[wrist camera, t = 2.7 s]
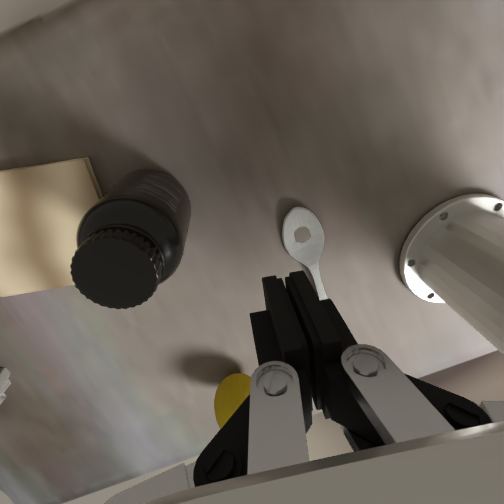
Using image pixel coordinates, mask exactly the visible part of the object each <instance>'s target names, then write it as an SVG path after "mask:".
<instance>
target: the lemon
mask: <svg viewBox="0 0 504 504" xmlns="http://www.w3.org/2000/svg"><path fill="white" fill-rule="evenodd" d="M250 384H251V377H250V376H248V375H246V374H242V373H236V374H232V375H229V376H228V377H226V378H225V379H224V380H223V381H222V382H221V383H220V385H219V386H218V388H217V391H216V395H215V400H214V409H215V415H216V420H217V423H218V425H219V427H220V428H222V427H223V426H224V425H225V423H226V422H227V421H228V420H229V418H230V417H231V416H232V415H233V414H234V412H235V411H236V410H237V409H238V407H239V406H240V405H241V404H242V403H243V401H244V400H245V399H246V398H247V397H248V395H249V394H250Z"/></svg>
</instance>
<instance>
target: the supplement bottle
mask: <svg viewBox="0 0 504 504" xmlns="http://www.w3.org/2000/svg"><path fill="white" fill-rule="evenodd" d="M190 215H191V205H190V200H189V197H188V195H187V193H186V191H185V189H184V188H183V187H182V186H181V184H180V183H179V182H178V181H177V180H175V179H174V178H173V177H171V176H169V175H168V174H165V173H163V172H160V171H156V170H139V171H135V172H132V173H130V174H128V175H127V176H125V177H124V178H122V179H121V180H120V181H119V182H118V183H117V184H115V185H114V186H113V187H112V188H111V189H110V190H109V191H108V192H107V193H106V194H105V195H104V196H103V197H101V198H100V199H99V200H98V201H97V202H96V203H95V204H94V205H93V206H92V207H91V208H90V209H89V210H88V211H87V212H86V213H85V215H84V216H83V217H82V219H81V221H80V223H79V226H78V229H77V235H76V242H77V250H76V251H75V255H74V256H73V257H72V263H71V265H70V268H71V272H70V274H71V275H72V281H73V282H74V283H75V286H76V288H78V289H79V290H80V292H81V294H83V295H85V296H86V298H87V299H90V300H92V301H93V302H94V303H97V304H99V305H101V306H106V307H108V308H116V309H121V308H123V309H127V308H129V307H135V306H136V305H141V304H142V303H143V302H145V301H147V300H148V298H150V297H151V296H152V295H153V293H154V292H155V291H156V289H157V286H158V285H159V284H161V283H163V282H164V281H165V280H167V279H168V278H169V277H170V276H171V275H172V274H173V273H174V272H175V271H176V269H177V268H178V266H179V264H180V261H181V258H182V255H183V250H184V246H185V241H186V236H187V231H188V226H189V221H190Z"/></svg>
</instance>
